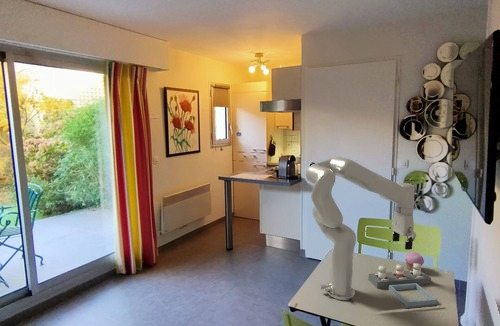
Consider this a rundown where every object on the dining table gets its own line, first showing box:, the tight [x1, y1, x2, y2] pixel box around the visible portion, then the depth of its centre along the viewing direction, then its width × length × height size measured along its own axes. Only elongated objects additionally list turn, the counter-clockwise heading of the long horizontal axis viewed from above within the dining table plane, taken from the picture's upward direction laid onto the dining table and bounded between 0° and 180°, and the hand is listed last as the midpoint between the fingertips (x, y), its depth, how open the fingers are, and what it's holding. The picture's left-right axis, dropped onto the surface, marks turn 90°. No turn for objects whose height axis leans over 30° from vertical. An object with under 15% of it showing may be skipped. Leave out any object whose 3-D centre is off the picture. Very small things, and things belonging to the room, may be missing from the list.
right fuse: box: [413, 263, 422, 277], centre depth 154 cm, size 3×3×8 cm
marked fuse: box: [395, 264, 405, 278], centre depth 153 cm, size 3×3×8 cm
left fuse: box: [377, 265, 387, 280], centre depth 152 cm, size 3×3×8 cm
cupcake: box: [403, 251, 425, 271], centre depth 165 cm, size 9×9×10 cm
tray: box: [388, 283, 438, 310], centre depth 141 cm, size 14×14×3 cm
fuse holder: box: [367, 270, 432, 289], centre depth 153 cm, size 27×8×4 cm, turn 98°
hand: (401, 245), depth 151 cm, fingers open, 9 cm apart
